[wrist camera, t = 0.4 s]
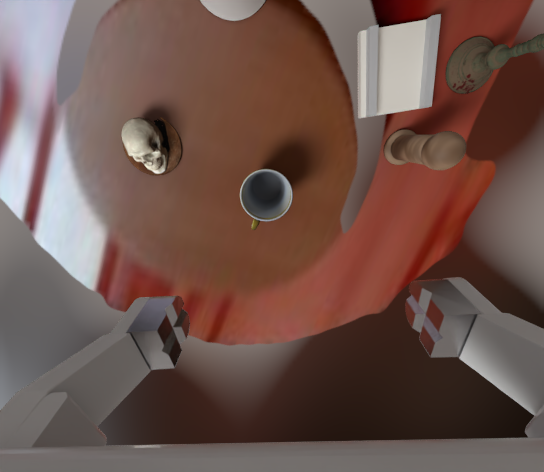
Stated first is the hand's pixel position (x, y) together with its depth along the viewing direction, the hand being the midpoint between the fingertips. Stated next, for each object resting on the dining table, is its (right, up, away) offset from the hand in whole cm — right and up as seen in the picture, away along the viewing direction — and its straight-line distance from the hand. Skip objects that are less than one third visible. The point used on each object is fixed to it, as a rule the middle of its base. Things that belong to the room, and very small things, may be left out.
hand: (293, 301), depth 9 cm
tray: (+23, +34, +38) cm, 56 cm away
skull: (-26, +22, +42) cm, 54 cm away
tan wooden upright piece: (+27, +21, +43) cm, 55 cm away
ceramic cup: (-3, +12, +46) cm, 48 cm away
